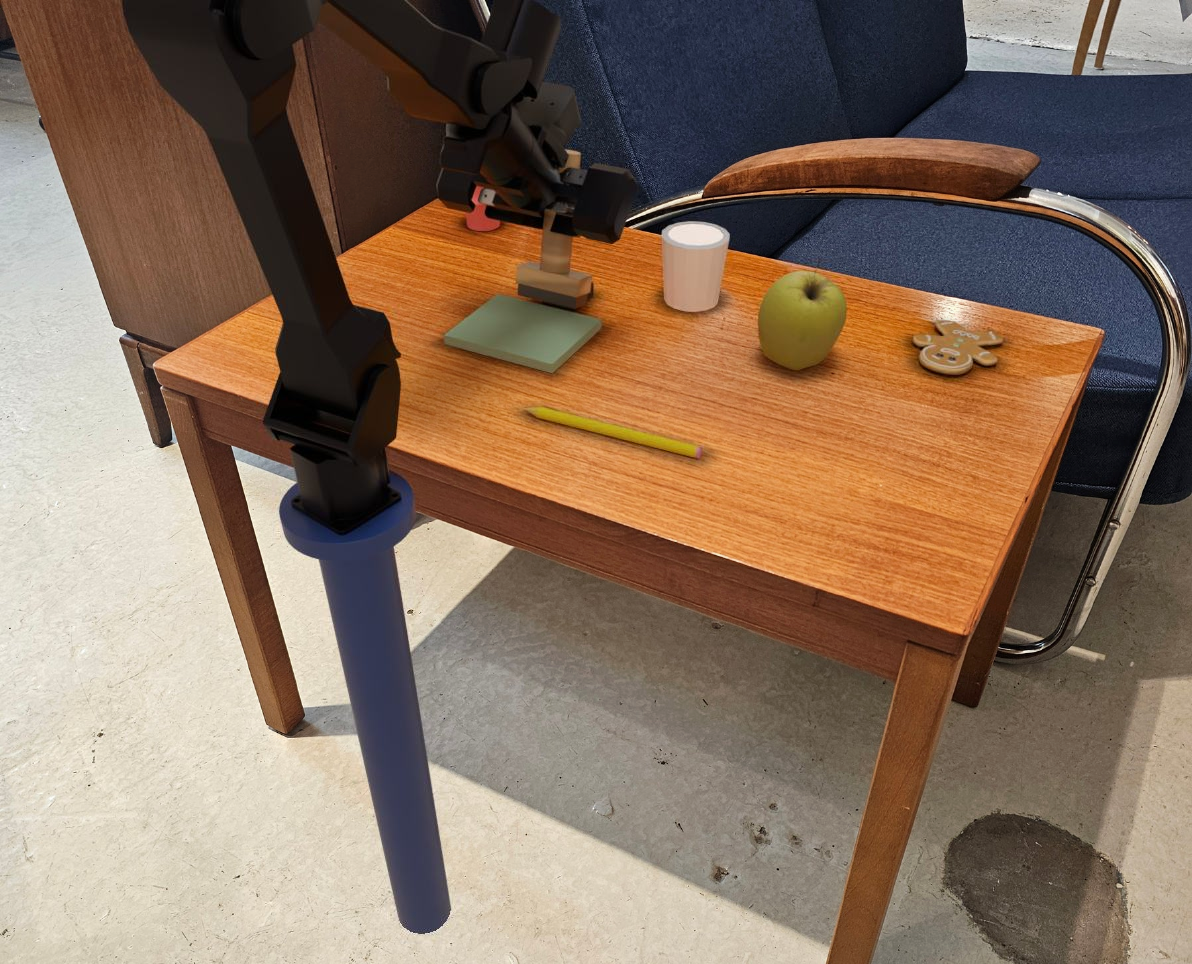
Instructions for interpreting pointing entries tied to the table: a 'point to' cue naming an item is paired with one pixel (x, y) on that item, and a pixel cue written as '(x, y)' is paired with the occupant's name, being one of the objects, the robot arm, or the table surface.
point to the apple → (801, 319)
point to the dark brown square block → (579, 307)
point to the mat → (523, 332)
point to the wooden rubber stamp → (555, 265)
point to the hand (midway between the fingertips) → (565, 229)
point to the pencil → (616, 431)
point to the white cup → (693, 264)
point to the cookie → (956, 348)
